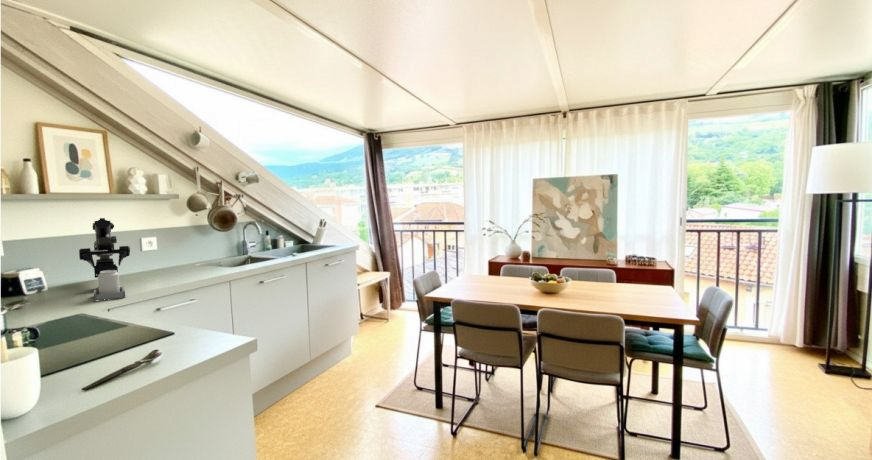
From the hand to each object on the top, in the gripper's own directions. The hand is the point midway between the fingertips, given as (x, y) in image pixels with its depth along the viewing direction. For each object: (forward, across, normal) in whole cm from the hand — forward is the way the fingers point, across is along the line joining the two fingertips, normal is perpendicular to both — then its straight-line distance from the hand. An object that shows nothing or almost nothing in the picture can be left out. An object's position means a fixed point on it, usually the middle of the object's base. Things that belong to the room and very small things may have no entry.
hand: (106, 266), depth 184 cm
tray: (+14, 0, +5) cm, 15 cm away
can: (+14, 0, +5) cm, 15 cm away
